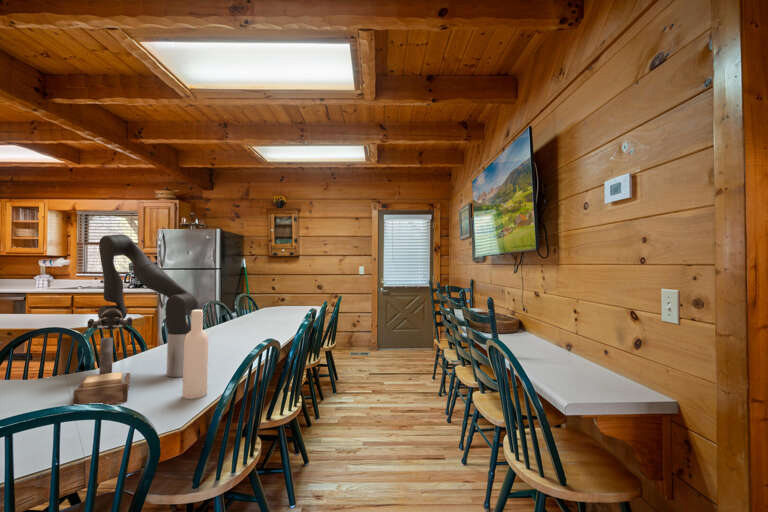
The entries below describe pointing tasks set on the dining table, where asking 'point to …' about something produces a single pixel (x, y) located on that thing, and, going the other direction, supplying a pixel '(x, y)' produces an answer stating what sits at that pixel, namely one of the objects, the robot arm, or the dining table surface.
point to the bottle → (195, 359)
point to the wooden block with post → (104, 367)
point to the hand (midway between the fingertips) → (110, 325)
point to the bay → (102, 393)
